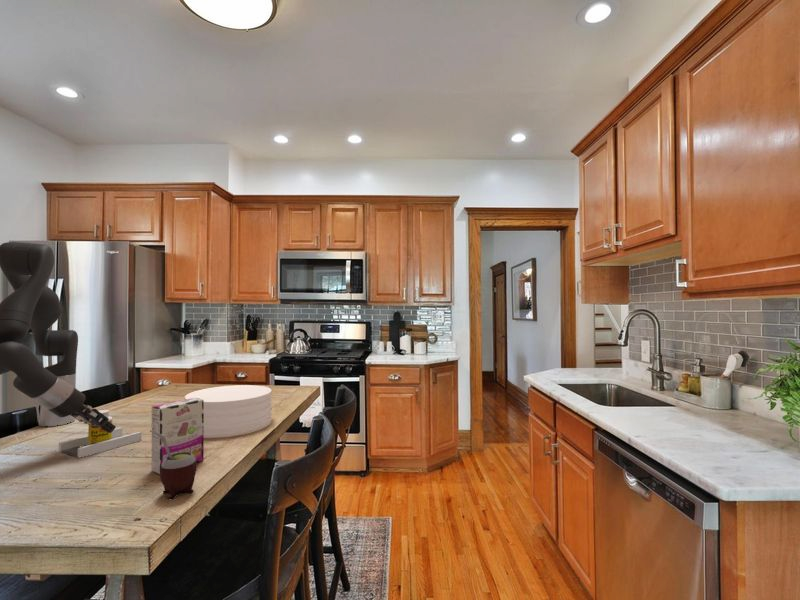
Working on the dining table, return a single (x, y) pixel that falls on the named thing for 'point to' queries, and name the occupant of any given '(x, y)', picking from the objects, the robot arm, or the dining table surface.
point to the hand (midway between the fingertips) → (106, 428)
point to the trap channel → (97, 444)
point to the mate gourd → (177, 471)
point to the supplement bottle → (99, 431)
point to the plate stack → (234, 409)
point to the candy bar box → (178, 430)
